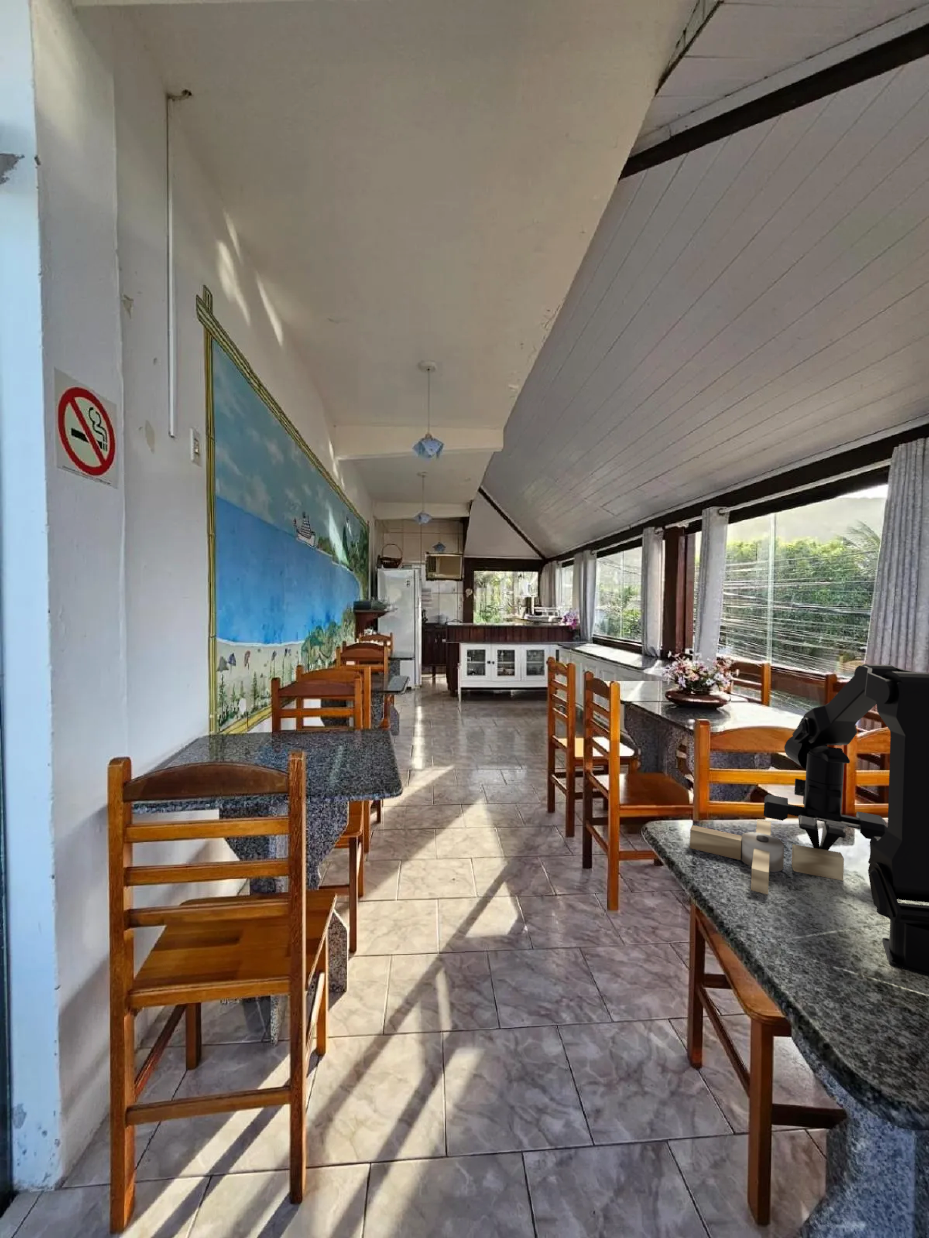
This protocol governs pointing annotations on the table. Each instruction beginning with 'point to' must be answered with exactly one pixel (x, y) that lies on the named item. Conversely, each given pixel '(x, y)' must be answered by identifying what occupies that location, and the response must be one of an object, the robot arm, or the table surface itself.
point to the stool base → (744, 850)
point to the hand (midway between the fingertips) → (819, 861)
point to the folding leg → (817, 862)
